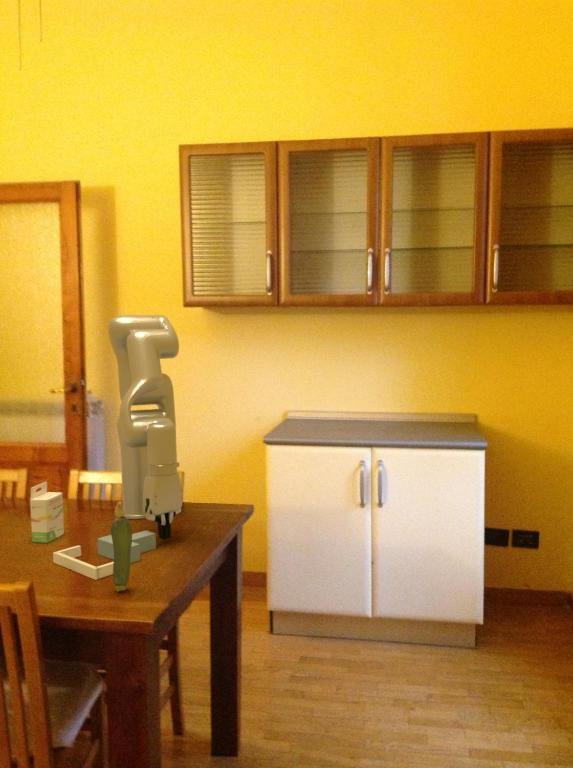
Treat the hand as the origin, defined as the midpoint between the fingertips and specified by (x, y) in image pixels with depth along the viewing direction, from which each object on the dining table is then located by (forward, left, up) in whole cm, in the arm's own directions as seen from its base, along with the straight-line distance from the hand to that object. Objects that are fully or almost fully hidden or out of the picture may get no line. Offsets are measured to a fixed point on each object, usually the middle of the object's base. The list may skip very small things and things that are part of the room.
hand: (164, 538), depth 182 cm
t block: (+10, 0, -1) cm, 10 cm away
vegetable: (+26, +19, -1) cm, 33 cm away
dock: (+24, 0, -1) cm, 24 cm away
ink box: (+17, -28, -1) cm, 33 cm away
